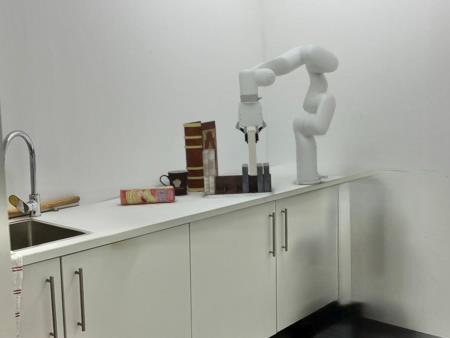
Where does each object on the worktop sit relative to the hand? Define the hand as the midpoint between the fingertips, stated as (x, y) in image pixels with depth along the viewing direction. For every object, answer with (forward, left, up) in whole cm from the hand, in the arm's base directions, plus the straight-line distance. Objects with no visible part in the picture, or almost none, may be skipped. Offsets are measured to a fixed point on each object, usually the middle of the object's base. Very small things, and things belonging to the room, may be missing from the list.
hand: (252, 142), depth 262 cm
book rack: (+6, 0, -21) cm, 22 cm away
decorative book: (+23, -21, -22) cm, 38 cm away
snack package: (+43, +13, -22) cm, 49 cm away
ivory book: (0, 0, -13) cm, 13 cm away
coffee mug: (+33, -5, -22) cm, 40 cm away
